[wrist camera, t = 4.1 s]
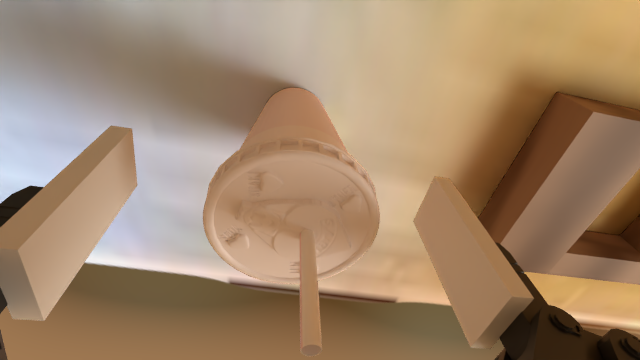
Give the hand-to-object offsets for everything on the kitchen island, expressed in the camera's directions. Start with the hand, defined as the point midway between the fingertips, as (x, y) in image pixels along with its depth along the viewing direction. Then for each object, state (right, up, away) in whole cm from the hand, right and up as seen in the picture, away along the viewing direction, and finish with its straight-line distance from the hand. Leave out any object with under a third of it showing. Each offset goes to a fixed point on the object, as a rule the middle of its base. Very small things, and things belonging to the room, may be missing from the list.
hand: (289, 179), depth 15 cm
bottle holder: (+23, -1, +10) cm, 25 cm away
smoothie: (0, +4, +5) cm, 6 cm away
